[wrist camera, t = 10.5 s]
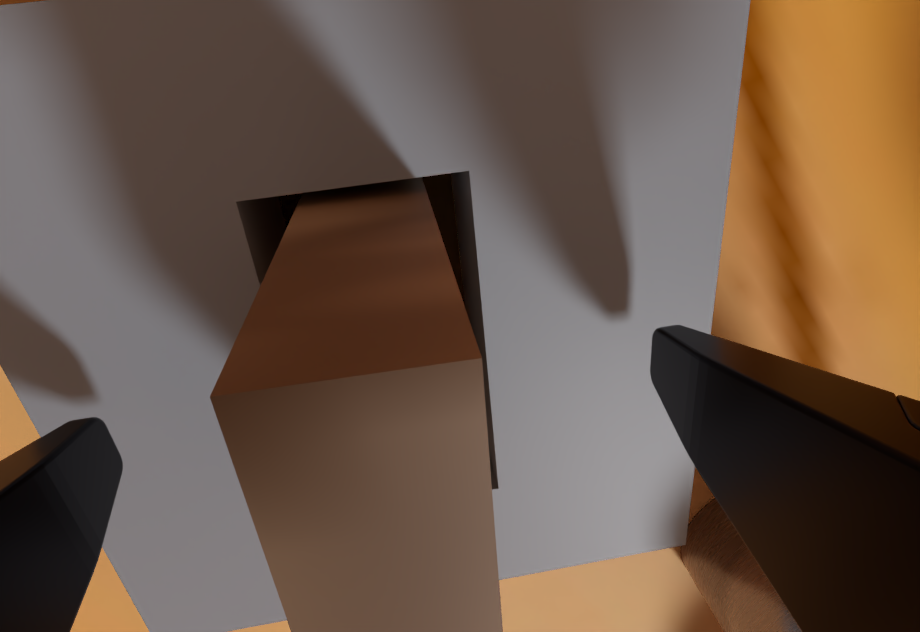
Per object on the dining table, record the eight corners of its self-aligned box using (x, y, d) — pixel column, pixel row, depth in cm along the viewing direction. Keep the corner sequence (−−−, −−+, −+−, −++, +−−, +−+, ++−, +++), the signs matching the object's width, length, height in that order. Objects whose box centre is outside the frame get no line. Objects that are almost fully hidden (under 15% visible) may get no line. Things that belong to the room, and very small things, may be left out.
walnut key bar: (414, 156, 11) (481, 358, 4) (439, 366, 14) (510, 726, 6) (314, 166, 11) (209, 397, 4) (356, 378, 13) (335, 761, 6)
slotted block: (659, -46, 10) (758, -74, 8) (633, 458, 16) (685, 545, 13) (-31, 28, 9) (-191, 24, 7) (195, 535, 15) (156, 644, 12)
